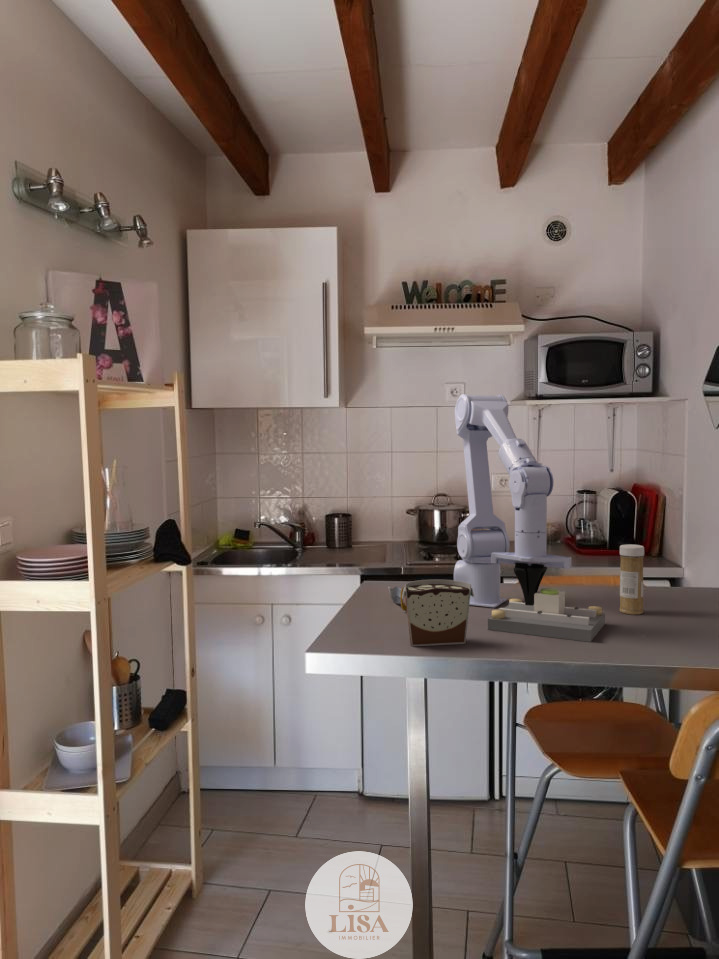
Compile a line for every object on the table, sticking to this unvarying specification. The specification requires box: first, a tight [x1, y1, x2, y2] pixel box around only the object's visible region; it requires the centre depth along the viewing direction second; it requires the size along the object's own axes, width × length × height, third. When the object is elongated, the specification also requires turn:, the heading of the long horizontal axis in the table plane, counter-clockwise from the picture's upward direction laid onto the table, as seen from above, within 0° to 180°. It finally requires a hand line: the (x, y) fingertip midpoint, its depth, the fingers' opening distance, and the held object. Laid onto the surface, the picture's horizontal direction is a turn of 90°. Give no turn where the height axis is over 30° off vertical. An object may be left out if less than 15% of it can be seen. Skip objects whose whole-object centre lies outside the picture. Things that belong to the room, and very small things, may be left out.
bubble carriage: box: [534, 587, 566, 614], centre depth 131 cm, size 4×5×5 cm
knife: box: [387, 585, 407, 612], centre depth 146 cm, size 25×1×5 cm, turn 10°
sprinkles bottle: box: [619, 543, 645, 616], centre depth 142 cm, size 5×5×13 cm
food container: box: [402, 579, 474, 647], centre depth 122 cm, size 12×6×10 cm, turn 100°
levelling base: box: [487, 598, 606, 643], centre depth 131 cm, size 18×14×3 cm
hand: (530, 604), depth 133 cm, fingers closed
